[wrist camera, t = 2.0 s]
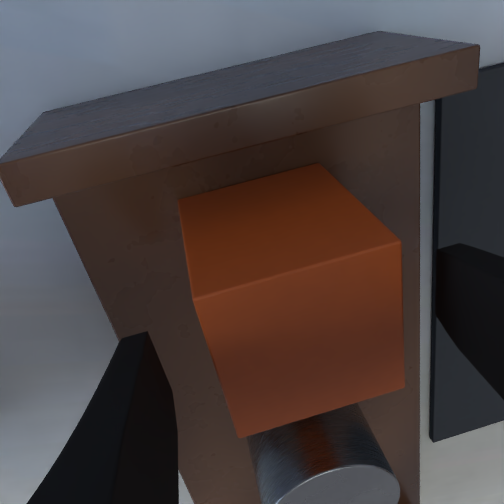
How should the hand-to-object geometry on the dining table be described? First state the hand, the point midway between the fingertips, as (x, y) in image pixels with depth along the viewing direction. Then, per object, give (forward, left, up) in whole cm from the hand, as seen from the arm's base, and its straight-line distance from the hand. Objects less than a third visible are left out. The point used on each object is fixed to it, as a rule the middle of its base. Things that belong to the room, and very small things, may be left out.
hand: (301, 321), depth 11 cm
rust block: (0, 0, -4) cm, 4 cm away
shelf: (0, -8, -7) cm, 10 cm away
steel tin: (0, -8, -4) cm, 9 cm away
